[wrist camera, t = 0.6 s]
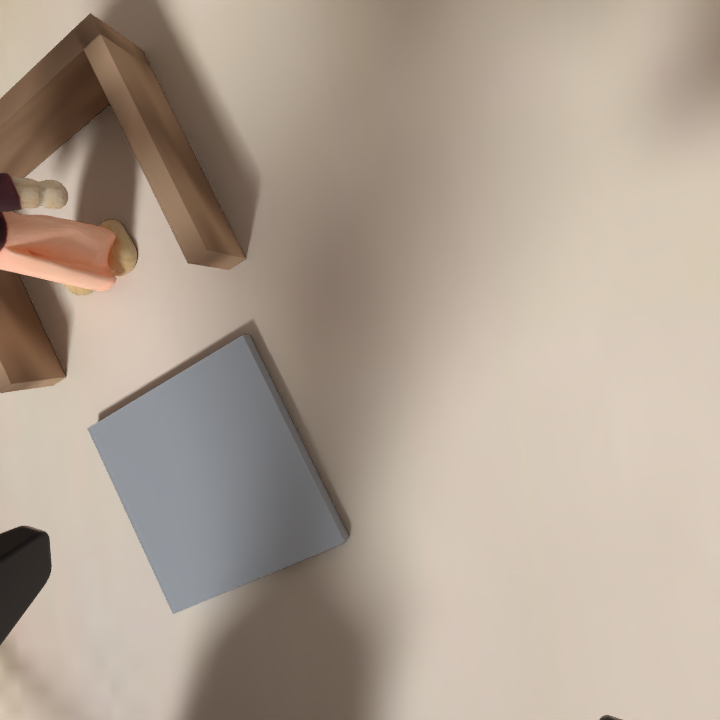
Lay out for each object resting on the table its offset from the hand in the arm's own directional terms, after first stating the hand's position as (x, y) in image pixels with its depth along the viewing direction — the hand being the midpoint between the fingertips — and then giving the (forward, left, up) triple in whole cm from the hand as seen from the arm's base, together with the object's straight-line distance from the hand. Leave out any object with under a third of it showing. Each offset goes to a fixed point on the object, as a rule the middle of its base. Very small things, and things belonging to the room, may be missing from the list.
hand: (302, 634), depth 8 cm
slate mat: (-9, +7, -14) cm, 18 cm away
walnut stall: (-3, +19, -14) cm, 24 cm away
